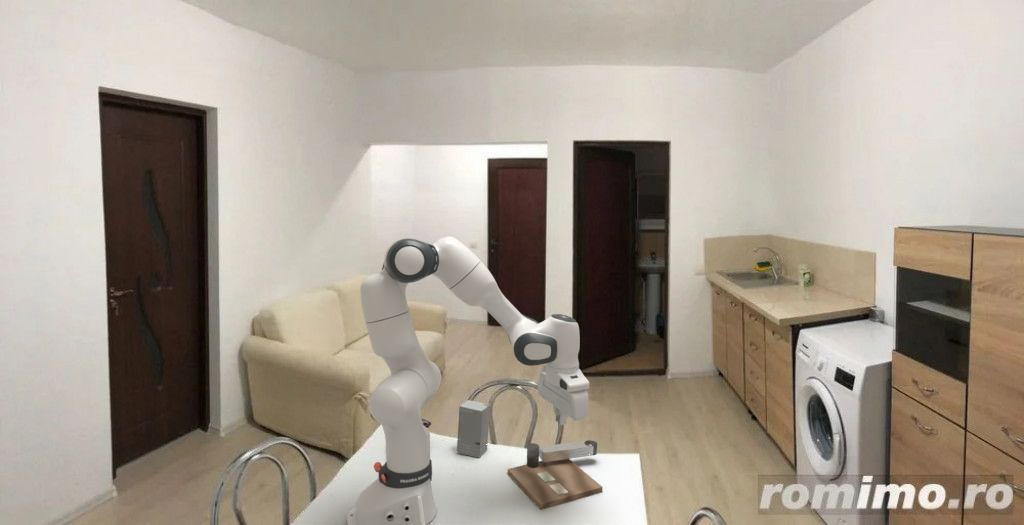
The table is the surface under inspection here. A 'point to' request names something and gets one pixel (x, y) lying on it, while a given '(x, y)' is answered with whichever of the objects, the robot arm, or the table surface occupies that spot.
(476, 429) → the skincare box
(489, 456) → the table surface
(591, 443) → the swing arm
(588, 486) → the label board
